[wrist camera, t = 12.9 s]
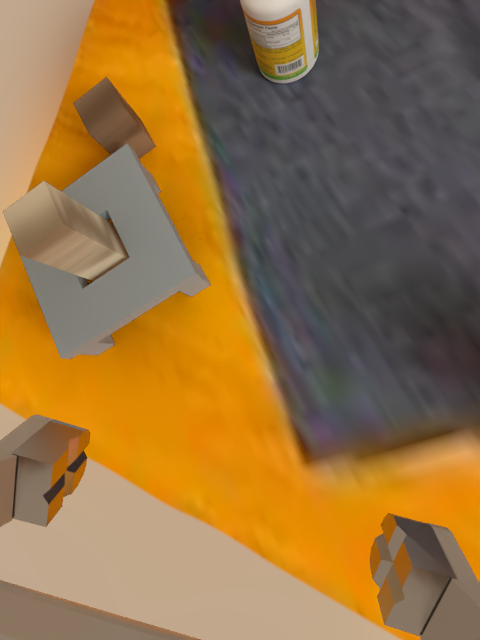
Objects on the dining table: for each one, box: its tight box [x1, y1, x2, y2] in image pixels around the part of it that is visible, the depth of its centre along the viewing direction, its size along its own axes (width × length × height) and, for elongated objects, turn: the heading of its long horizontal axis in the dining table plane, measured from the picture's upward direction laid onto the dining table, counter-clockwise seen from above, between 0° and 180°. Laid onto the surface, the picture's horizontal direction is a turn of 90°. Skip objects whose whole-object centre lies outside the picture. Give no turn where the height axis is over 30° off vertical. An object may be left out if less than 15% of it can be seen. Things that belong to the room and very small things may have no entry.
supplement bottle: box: [240, 0, 319, 83], centre depth 28 cm, size 5×5×10 cm
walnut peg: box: [73, 77, 156, 158], centre depth 34 cm, size 4×4×6 cm
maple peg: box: [3, 181, 130, 281], centre depth 29 cm, size 4×4×11 cm
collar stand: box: [11, 144, 211, 359], centre depth 32 cm, size 13×13×4 cm
